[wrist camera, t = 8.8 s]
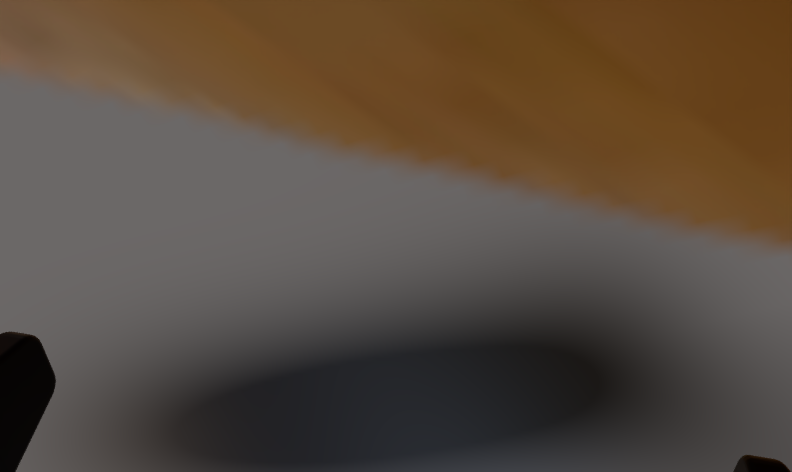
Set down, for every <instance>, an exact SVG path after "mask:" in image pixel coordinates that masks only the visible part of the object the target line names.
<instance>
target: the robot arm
mask: <svg viewBox="0 0 792 472" xmlns="http://www.w3.org/2000/svg"><path fill="white" fill-rule="evenodd" d="M55 383H56V379H55V374H54V371H53V369H52V367H51V365H50V362H49V360H48V357H47V355H46V353H45V350H44V348H43V346H42V343H41V342H40V340H39V339H38V338H37V337H36V336H33V335H30V334H24V333H18V332H5V333H2V334H0V472H16V470H17V467H18V465H19V463H20V461H21V459H22V457H23V455H24V453H25V451H26V449H27V447H28V445H29V443H30V441H31V438H32V436H33V434H34V432H35V430H36V428H37V426H38V424H39V422H40V420H41V418H42V416H43V414H44V411H45V409H46V407H47V405H48V403H49V401H50V399H51V397H52V395H53V392H54V389H55ZM733 472H790V470H789V469H788V468H787V467H786V465H784V464H783V463H782V462H780V461H778V460H776V459H771V458H765V457H759V456H753V455H744V456H742V457H741V458H740V459H739V461H738V463H737V465H736V467H735V469H734V471H733Z"/></svg>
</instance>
